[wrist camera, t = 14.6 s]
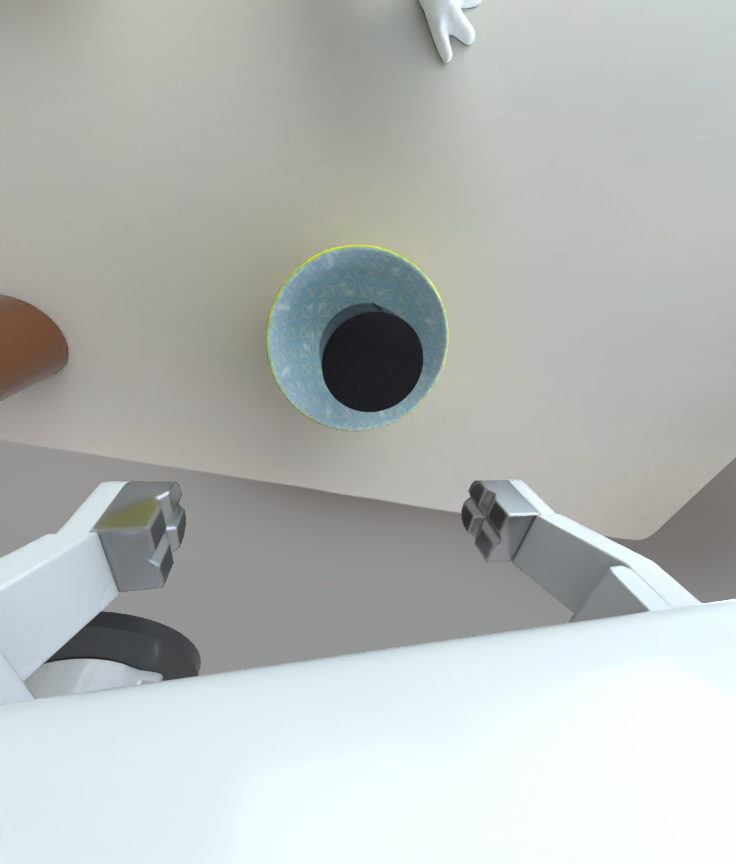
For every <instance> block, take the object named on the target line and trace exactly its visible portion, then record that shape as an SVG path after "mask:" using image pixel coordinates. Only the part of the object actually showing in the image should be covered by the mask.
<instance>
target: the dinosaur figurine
mask: <svg viewBox="0 0 736 864" xmlns="http://www.w3.org/2000/svg"><path fill="white" fill-rule="evenodd" d="M419 2H420V4H421V6H422V8H423V10H424V12H425V15H426V18H427V21H428V24H429V28H430V31H431V33H432V37H433V40H434V42H435V45H436V47H437V49H438V52H439V54H440V57H441V58H442V60H443V61H444V62H445V63H447V62H449V61H450V59H451V58H452V49H451V46H450V42H449V35H453V36H455V37H456V38H458V39H459V40H460V41H461V42H463V43H465V44H467V45H471V43H472V42H473V40H474V37H475V32H474V29H473V27H472V25H471V24H470V23H469V21H468V20H467V19H466V17H465V15H464V14H463V12H462V10H461V8H471V7H474V6H477V5H478V4H479V3H480V2H481V0H419Z"/></svg>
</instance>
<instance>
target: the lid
mask: <svg viewBox="0 0 736 864" xmlns="http://www.w3.org/2000/svg"><path fill="white" fill-rule="evenodd" d="M319 357H320V363H321V369H322V374H323V378H324V382H325V384H326V386H327V388H328V390H329V391H330V393H331V394H332V395H333V397H334V398H335V399H336V400H337V401H338V402H340V403H341V404H343V405H344V406H346V407H348V408H350V409H353V410H356V411H360V412H378V411H382V410H386V409H389V408H391V407H393V406H395V405H397V404H398V403H400V402H401V401H402V400H404V399H405V398H406V397H407V396H408V395H409V394H410V393H411V391H412V390H413V389H414V387H415V386H416V384H417V382H418V380H419V378H420V375H421V372H422V367H423V349H422V344H421V342H420V339H419V337H418V335H417V333H416V332H415V330H414V329H413V328H412V326H411V325H410V324H409V323H408V322H406V321H405V320H404V319H402V318H401V317H399V316H398V315H396V314H395V313H393V312H392V311H390V310H389V309H387V308H385V307H383V306H380V305H377V304H375V303H374V302H372V303H361V304H355V305H352V306H349V307H347V308H345V309H343V310H341V311H340V312H339V313H337V314H336V315H335V316H334V317H333V318H332V319H331V320H330V321H329V323H328V324H327V325H326V327H325V329H324V331H323V333H322V336H321V339H320V345H319Z"/></svg>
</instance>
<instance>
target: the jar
mask: <svg viewBox="0 0 736 864" xmlns="http://www.w3.org/2000/svg"><path fill="white" fill-rule="evenodd" d="M67 358H68V347H67V343H66V340H65V338H64V336H63V334H62V332H61V331H60V329H59V328H58V327H57V326H56V324H55V323H54V322H53V321H52V320H51V319H50V318H49V317H48V316H46V315H45V314H44V313H43V312H41V311H40V310H38V309H37V308H35V307H34V306H32V305H30V304H28V303H26V302H24V301H21V300H18V299H15V298H12V297H8V296H2V295H0V401H2V400H4V399H6V398H8V397H10V396H12V395H14V394H16V393H18V392H20V391H22V390H24V389H26V388H28V387H30V386H32V385H34V384H36V383H38V382H39V381H41V380H43V379H45V378H47V377H49V376H51V375H53V374H55V373H57V372H58V371H60V370H61V369H62V368H63V367H64V365H65V363H66V361H67Z"/></svg>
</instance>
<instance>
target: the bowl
mask: <svg viewBox="0 0 736 864" xmlns="http://www.w3.org/2000/svg"><path fill="white" fill-rule="evenodd" d="M372 302H374V303H375V304H377V305H380V306H383V307H385V308H387V309H389V310H390V311H392V312H393V313H395V314H396V315H398V316H399V317H401V318H402V319H404V320H405V321H406V322H408V323H409V324H410V325H411V326H412V328H413V329H414V330H415V332H416V333H417V335H418V337H419V339H420V342H421V344H422V349H423V367H422V372H421V375H420V378H419V380H418V382H417V384H416V386H415V387H414V389H413V390H412V391H411V393H410V394H409V395H408V396H407V397H406V398H405V399H404V400H402V401H401V402H400V403H398V404H397V405H395V406H393V407H391V408H389V409H386V410H382V411H378V412H360V411H356V410H353V409H350V408H348V407H346V406H344V405H343V404H341V403H340V402H338V401H337V400H336V399H335V398H334V397H333V395H332V394H331V393H330V391H329V390H328V388H327V386H326V384H325V382H324V378H323V374H322V369H321V363H320V357H319V345H320V339H321V336H322V333H323V331H324V329H325V327H326V325H327V324H328V323H329V321H330V320H331V319H332V318H333V317H334V316H335V315H336V314H337V313H339V312H340V311H341V310H343V309H345V308H347V307H349V306H352V305H355V304H361V303H372ZM448 338H449V336H448V323H447V317H446V312H445V309H444V306H443V303H442V301H441V298H440V296H439V294H438V292H437V290H436V289H435V287H434V285H433V284H432V283H431V281H430V280H429V279H428V277H427V276H426V275H425V274H424V273H423V272H422V271H421V270H420V269H419V268H418V267H417V266H416V265H414V264H413V263H412V262H411V261H409V260H408V259H406V258H405V257H403V256H401V255H399V254H397V253H395V252H393V251H390V250H387V249H384V248H381V247H376V246H371V245H363V244H353V245H344V246H339V247H335V248H331V249H328V250H325V251H322V252H320V253H318V254H316V255H314V256H312V257H311V258H309V259H308V260H306V261H305V262H303V263H302V264H301V265H300V266H299V267H298V268H296V269H295V270H294V271H293V272H292V273H291V274H290V276H289V277H288V278H287V279H286V281H285V282H284V283H283V285H282V286H281V288H280V290H279V291H278V293H277V295H276V297H275V299H274V301H273V304H272V307H271V309H270V312H269V316H268V321H267V328H266V352H267V358H268V362H269V366H270V369H271V372H272V374H273V377H274V379H275V381H276V383H277V385H278V387H279V389H280V390H281V392H282V393H283V395H284V396H285V397H286V399H287V400H288V401H289V402H290V403H291V404H292V405H293V406H294V407H295V408H296V409H297V410H298V411H299V412H300V413H302V414H303V415H305V416H306V417H308V418H309V419H311V420H313V421H314V422H316V423H318V424H321V425H324V426H326V427H329V428H333V429H336V430H343V431H367V430H373V429H377V428H380V427H384V426H386V425H389V424H391V423H393V422H396V421H397V420H399V419H401V418H403V417H404V416H406V415H407V414H409V413H410V412H411V411H412V410H414V409H415V408H416V407H417V406H418V405H419V404H420V403H421V402H422V401H423V400H424V399H425V398H426V396H427V395H428V394H429V392H430V391H431V390H432V388H433V387H434V385H435V383H436V381H437V380H438V378H439V376H440V373H441V371H442V368H443V366H444V362H445V359H446V354H447V349H448Z"/></svg>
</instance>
